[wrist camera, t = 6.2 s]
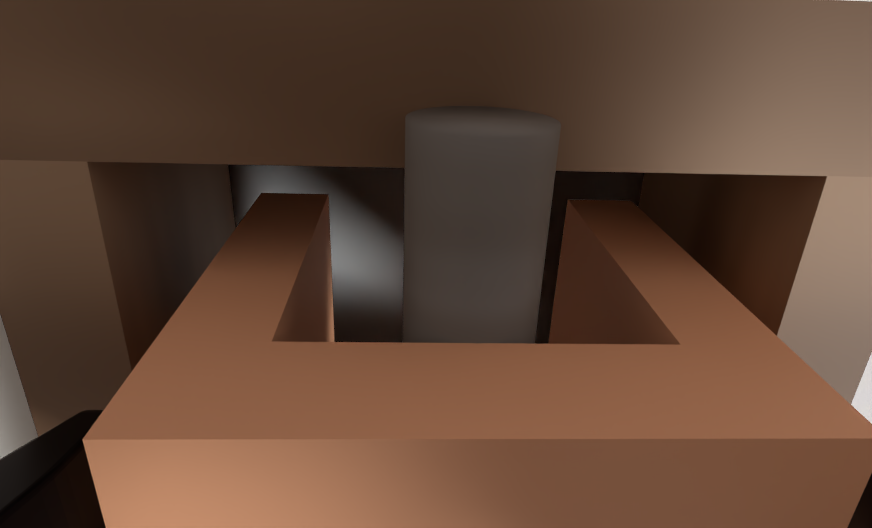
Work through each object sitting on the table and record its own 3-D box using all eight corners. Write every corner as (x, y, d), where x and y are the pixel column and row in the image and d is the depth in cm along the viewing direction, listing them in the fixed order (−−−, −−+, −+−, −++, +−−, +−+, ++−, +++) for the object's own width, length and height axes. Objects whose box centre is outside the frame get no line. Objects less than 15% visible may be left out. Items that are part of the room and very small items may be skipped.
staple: (630, 201, 11) (886, 438, 5) (599, 378, 13) (764, 711, 7) (261, 192, 11) (82, 439, 5) (278, 377, 12) (159, 729, 6)
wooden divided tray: (619, 566, 18) (736, 878, 12) (223, 575, 18) (119, 911, 11) (751, 0, 12) (1176, 10, 5) (124, -24, 11) (-273, -44, 5)
